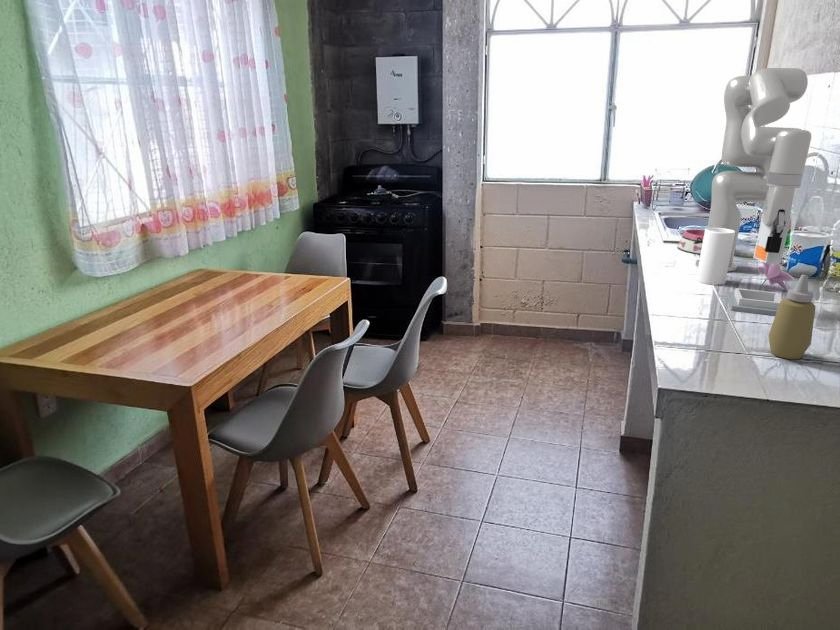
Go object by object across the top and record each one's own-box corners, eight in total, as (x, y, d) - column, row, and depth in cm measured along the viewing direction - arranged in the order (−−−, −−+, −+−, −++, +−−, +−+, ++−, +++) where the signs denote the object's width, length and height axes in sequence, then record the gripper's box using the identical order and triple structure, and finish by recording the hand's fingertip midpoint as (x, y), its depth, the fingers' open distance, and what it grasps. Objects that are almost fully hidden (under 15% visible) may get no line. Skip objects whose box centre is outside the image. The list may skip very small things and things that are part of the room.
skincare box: (752, 258, 163) (761, 213, 159) (767, 258, 163) (777, 213, 159) (765, 263, 157) (775, 217, 153) (781, 264, 158) (791, 218, 154)
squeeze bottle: (756, 347, 136) (774, 270, 130) (790, 347, 137) (809, 270, 131) (779, 362, 128) (799, 280, 122) (815, 362, 129) (837, 280, 123)
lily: (791, 300, 174) (808, 271, 173) (753, 282, 175) (770, 252, 174) (771, 301, 186) (786, 273, 185) (735, 283, 187) (751, 255, 186)
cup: (719, 278, 191) (729, 228, 186) (729, 285, 183) (739, 233, 178) (692, 277, 192) (701, 226, 186) (701, 284, 184) (710, 232, 179)
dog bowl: (732, 249, 232) (736, 231, 229) (727, 259, 217) (731, 240, 214) (681, 243, 240) (684, 226, 238) (673, 252, 225) (676, 233, 223)
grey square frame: (725, 295, 173) (727, 285, 172) (781, 302, 169) (783, 291, 168) (731, 310, 161) (733, 299, 160) (790, 317, 156) (793, 306, 155)
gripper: (762, 176, 162) (748, 241, 168) (773, 183, 147) (758, 254, 153) (794, 177, 160) (779, 244, 166) (808, 185, 145) (791, 257, 150)
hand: (769, 248), depth 159 cm, fingers closed on skincare box, 7 cm apart
